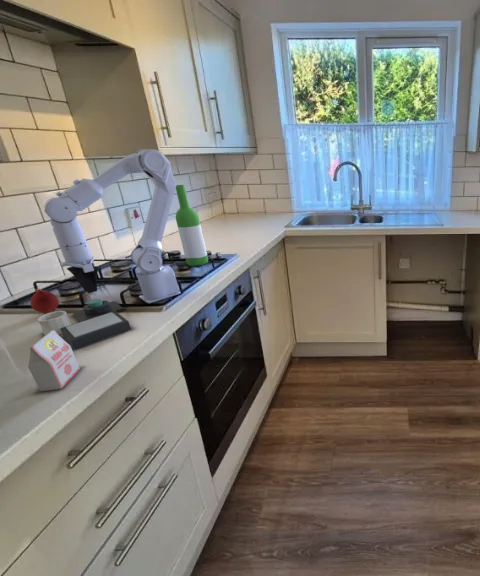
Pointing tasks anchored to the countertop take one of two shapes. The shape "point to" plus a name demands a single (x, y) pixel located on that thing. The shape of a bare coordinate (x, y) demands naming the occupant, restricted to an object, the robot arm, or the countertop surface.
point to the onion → (44, 301)
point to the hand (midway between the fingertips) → (90, 290)
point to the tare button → (95, 303)
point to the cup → (54, 321)
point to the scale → (95, 329)
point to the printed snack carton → (52, 362)
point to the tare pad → (97, 310)
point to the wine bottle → (190, 231)
